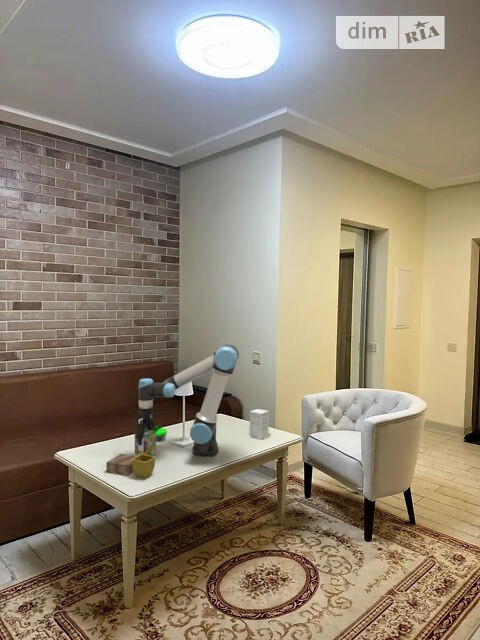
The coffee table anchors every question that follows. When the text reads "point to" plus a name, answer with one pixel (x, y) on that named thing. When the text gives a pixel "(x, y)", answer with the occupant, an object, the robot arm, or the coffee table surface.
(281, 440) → the coffee table surface
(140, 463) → the flower pot
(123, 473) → the podium
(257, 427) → the supplement box
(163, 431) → the green moss planter
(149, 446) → the chalk box
